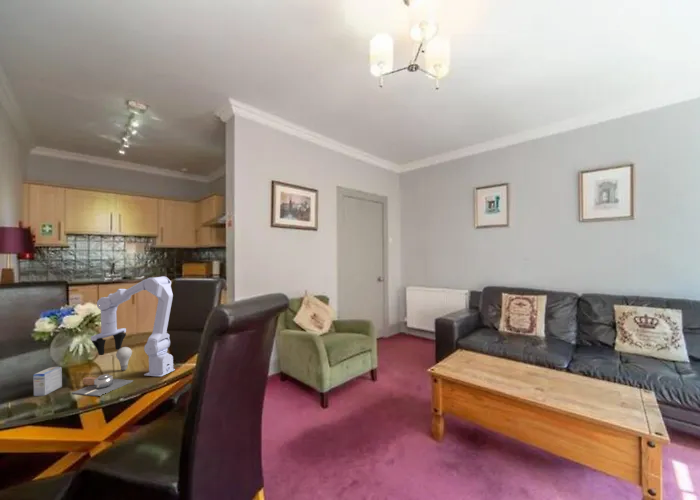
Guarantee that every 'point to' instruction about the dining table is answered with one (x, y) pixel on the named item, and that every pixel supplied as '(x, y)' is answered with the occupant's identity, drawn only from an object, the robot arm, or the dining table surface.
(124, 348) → the lightbulb
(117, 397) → the dining table surface
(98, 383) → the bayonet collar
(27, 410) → the dining table surface
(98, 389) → the lock base
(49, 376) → the medicine box
